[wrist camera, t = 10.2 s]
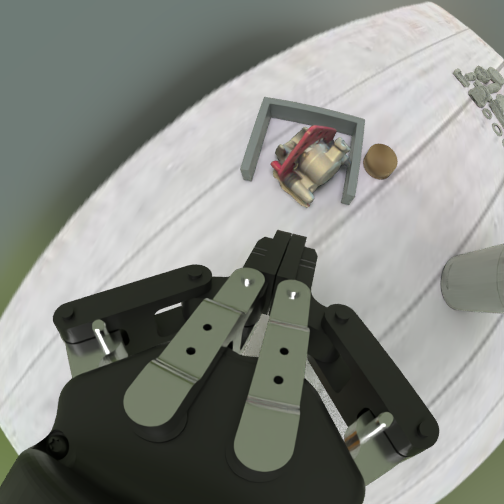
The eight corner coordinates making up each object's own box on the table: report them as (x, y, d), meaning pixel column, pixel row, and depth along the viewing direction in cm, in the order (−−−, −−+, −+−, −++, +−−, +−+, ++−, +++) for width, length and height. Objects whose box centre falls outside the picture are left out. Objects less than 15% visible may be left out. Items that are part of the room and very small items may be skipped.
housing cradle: (359, 132, 41) (364, 119, 37) (348, 205, 40) (354, 196, 36) (265, 110, 43) (264, 96, 39) (243, 179, 42) (240, 169, 38)
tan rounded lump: (392, 157, 40) (398, 149, 37) (389, 183, 39) (396, 176, 36) (365, 148, 41) (369, 139, 38) (361, 174, 40) (366, 166, 37)
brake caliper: (302, 112, 40) (346, 104, 29) (334, 165, 45) (381, 174, 34) (248, 152, 40) (279, 153, 29) (287, 205, 45) (326, 225, 34)
